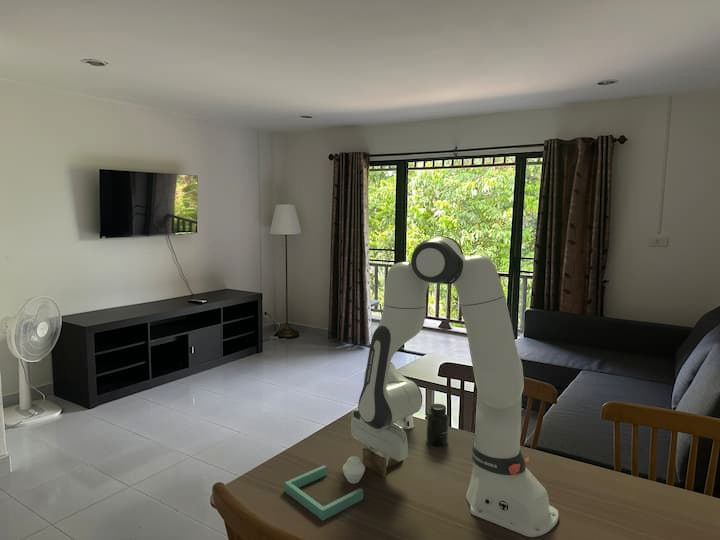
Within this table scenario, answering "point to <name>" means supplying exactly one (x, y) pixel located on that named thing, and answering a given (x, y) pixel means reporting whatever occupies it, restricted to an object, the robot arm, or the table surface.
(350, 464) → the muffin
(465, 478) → the table surface
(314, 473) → the frame
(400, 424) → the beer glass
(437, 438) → the supplement bottle
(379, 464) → the wooden post on base
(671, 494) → the table surface
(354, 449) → the table surface
